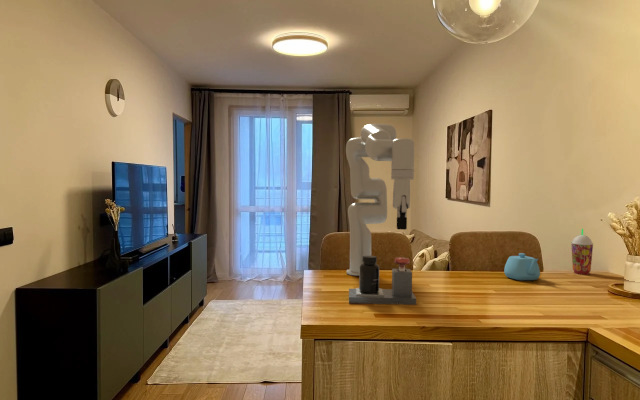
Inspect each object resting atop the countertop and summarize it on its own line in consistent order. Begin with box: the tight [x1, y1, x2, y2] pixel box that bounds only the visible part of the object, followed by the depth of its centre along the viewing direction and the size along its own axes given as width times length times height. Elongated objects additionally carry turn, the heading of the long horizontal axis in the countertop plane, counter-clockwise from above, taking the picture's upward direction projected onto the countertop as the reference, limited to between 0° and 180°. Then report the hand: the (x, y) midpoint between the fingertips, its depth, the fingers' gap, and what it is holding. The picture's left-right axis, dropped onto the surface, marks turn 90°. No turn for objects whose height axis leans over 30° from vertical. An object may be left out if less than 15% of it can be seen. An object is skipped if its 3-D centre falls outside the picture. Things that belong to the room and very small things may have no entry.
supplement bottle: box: [358, 255, 380, 293], centre depth 145 cm, size 7×7×12 cm
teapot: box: [503, 252, 541, 281], centre depth 177 cm, size 13×11×18 cm
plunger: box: [394, 256, 410, 271], centre depth 144 cm, size 5×5×12 cm
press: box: [348, 268, 417, 305], centre depth 145 cm, size 12×22×10 cm, turn 86°
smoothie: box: [570, 228, 594, 276], centre depth 189 cm, size 8×8×20 cm
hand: (401, 229), depth 144 cm, fingers closed
